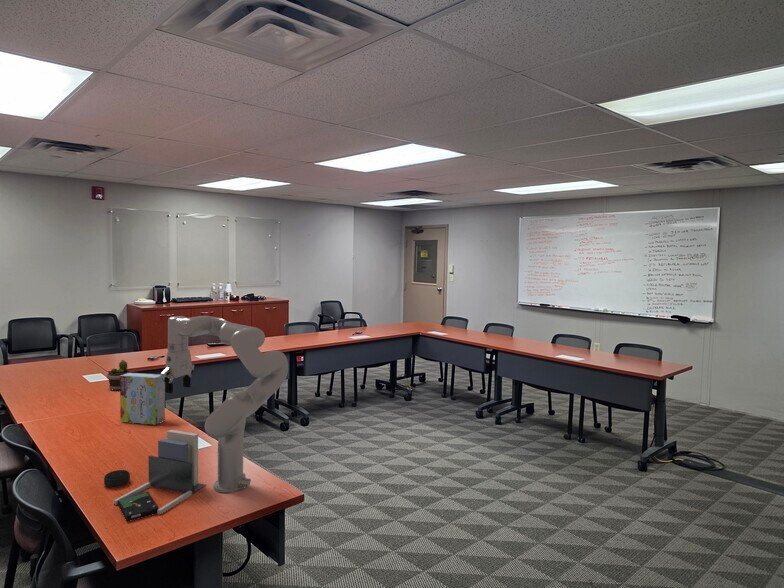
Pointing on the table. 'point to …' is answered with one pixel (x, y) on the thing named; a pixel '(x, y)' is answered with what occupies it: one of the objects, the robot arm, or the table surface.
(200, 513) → the table surface
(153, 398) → the snack box
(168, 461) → the bookend
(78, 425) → the table surface
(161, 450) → the book row
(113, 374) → the flowerpot
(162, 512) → the rails
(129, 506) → the disk drive
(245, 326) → the robot arm
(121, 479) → the smart speaker
